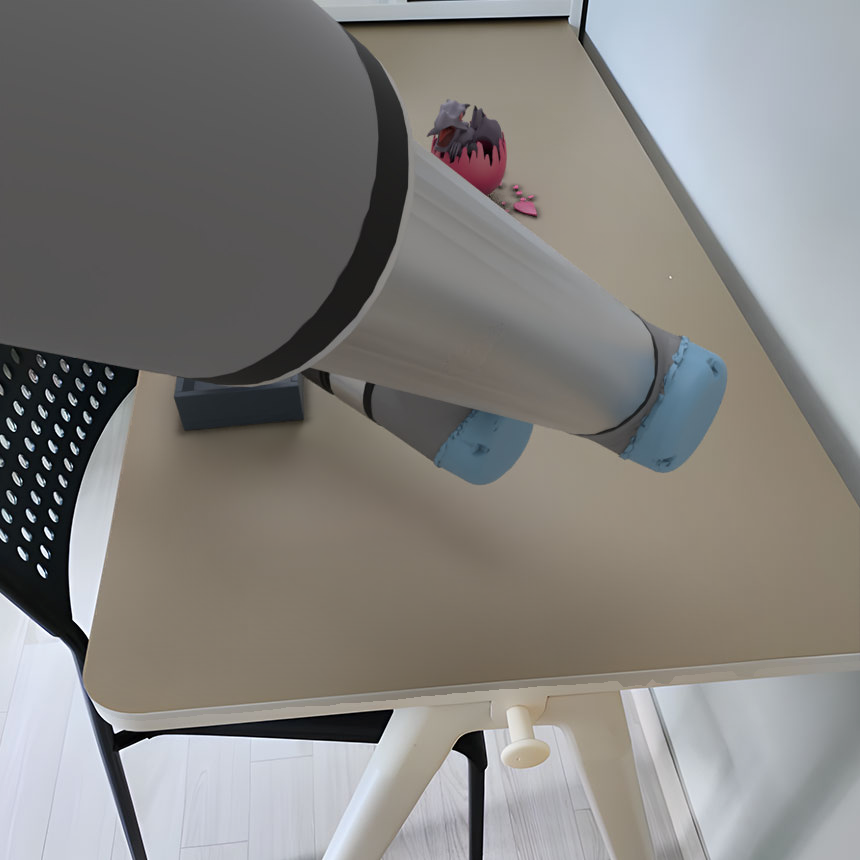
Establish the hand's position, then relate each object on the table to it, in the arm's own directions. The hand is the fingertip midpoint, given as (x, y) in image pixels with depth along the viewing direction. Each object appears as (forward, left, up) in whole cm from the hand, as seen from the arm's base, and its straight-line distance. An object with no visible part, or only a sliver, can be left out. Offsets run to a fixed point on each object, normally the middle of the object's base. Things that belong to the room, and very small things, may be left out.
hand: (191, 254), depth 78 cm
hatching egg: (+39, -19, -13) cm, 45 cm away
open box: (-3, -4, -13) cm, 14 cm away
